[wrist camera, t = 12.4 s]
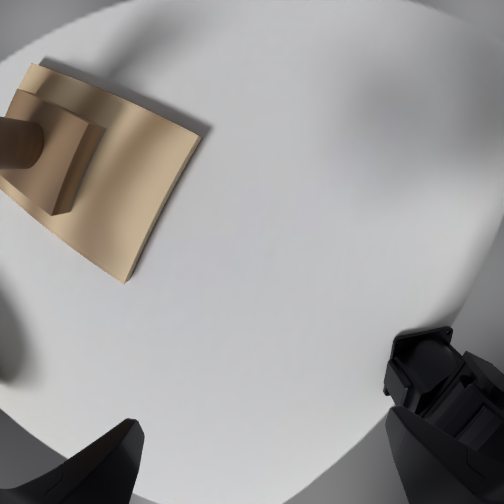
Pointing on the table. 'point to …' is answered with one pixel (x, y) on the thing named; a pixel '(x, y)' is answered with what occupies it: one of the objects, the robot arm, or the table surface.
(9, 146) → the block
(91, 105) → the oak board
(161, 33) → the table surface
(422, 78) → the table surface
